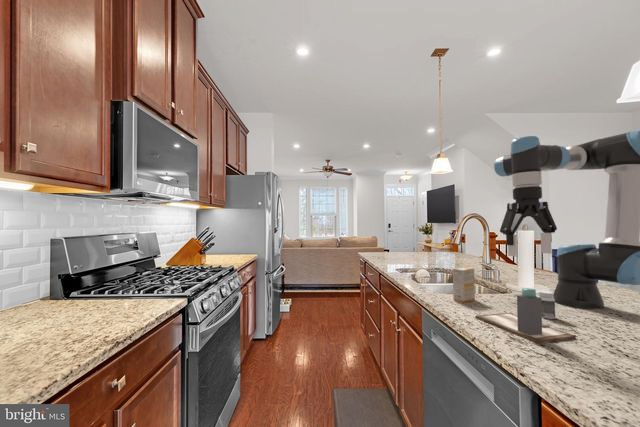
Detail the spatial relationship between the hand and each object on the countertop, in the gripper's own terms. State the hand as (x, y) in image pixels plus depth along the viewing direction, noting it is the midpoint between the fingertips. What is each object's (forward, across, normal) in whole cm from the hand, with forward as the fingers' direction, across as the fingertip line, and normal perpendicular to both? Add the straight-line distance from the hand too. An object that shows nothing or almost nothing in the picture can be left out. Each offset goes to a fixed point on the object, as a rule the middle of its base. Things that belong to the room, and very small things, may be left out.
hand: (530, 254), depth 94 cm
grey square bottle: (+20, +9, +6) cm, 23 cm away
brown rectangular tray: (+22, +6, 0) cm, 22 cm away
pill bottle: (+22, -12, -5) cm, 26 cm away
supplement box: (+22, -2, -31) cm, 38 cm away
